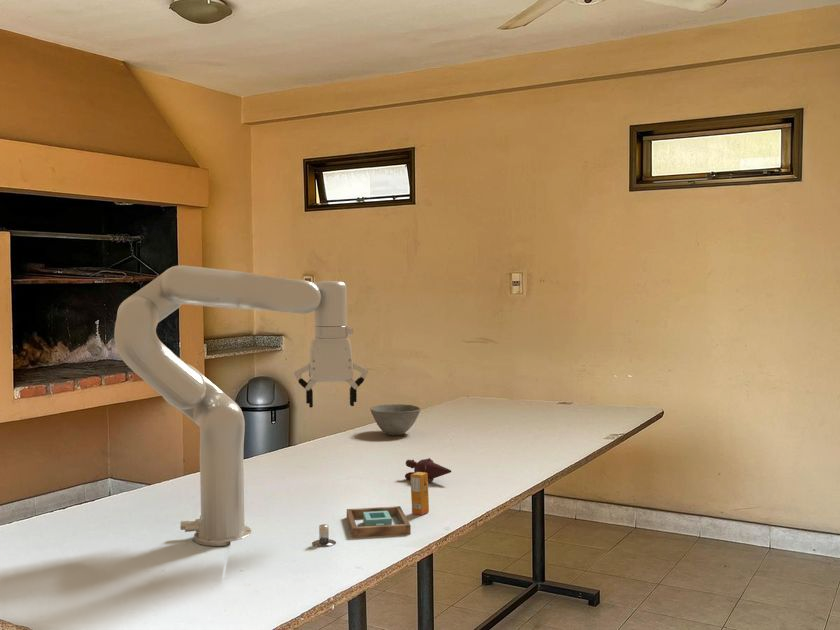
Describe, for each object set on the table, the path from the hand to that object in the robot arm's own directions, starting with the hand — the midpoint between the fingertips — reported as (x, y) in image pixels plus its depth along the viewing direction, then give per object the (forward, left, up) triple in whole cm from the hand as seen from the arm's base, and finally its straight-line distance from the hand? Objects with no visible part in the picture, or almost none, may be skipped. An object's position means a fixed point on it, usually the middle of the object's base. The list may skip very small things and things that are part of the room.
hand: (331, 405), depth 188 cm
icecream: (+30, +34, -29) cm, 54 cm away
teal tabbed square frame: (+10, -6, -28) cm, 30 cm away
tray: (+10, -6, -28) cm, 31 cm away
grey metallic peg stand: (-3, -16, -28) cm, 33 cm away
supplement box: (+22, +5, -28) cm, 36 cm away
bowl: (+31, +104, -28) cm, 112 cm away
